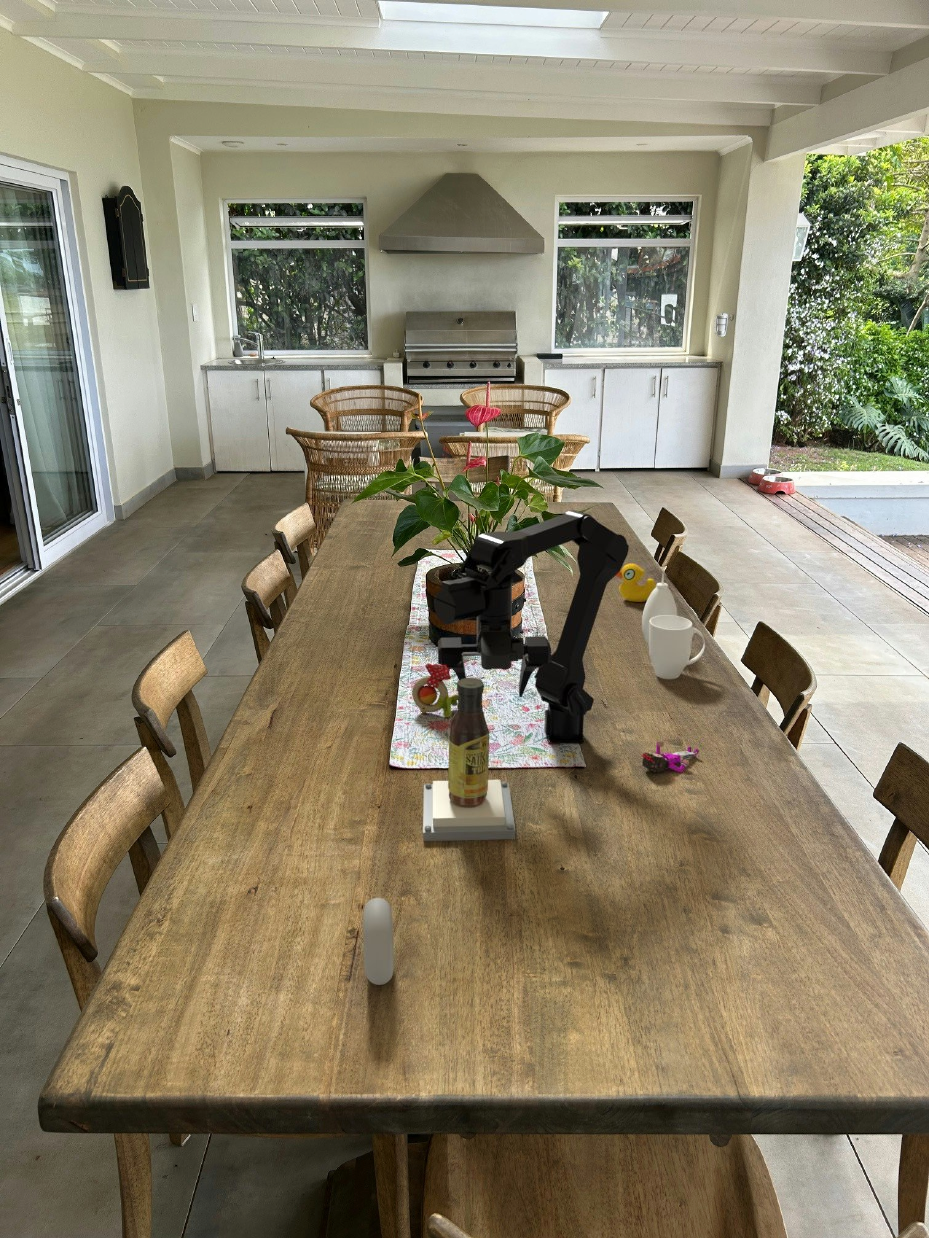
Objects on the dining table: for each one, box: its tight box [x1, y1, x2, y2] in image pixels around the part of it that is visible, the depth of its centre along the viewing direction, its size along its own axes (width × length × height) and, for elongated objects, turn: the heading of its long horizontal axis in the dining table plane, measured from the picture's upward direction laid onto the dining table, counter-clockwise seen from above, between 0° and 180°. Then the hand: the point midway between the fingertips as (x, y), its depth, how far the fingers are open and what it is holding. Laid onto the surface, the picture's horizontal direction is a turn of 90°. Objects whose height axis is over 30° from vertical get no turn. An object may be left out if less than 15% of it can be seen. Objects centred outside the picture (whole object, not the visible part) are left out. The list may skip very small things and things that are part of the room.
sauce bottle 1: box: [447, 677, 490, 807], centre depth 141 cm, size 7×6×20 cm
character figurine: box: [641, 741, 700, 773], centre depth 160 cm, size 6×5×12 cm
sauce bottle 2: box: [641, 572, 678, 644], centre depth 208 cm, size 8×8×18 cm
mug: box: [648, 615, 706, 680], centre depth 195 cm, size 12×9×12 cm
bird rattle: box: [411, 663, 458, 718], centre depth 178 cm, size 6×11×9 cm
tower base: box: [422, 779, 516, 842], centre depth 145 cm, size 14×14×3 cm
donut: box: [362, 897, 395, 986], centre depth 111 cm, size 10×4×10 cm, turn 4°
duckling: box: [614, 563, 657, 603], centre depth 239 cm, size 11×5×10 cm, turn 70°
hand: (493, 696), depth 156 cm, fingers open, 9 cm apart
